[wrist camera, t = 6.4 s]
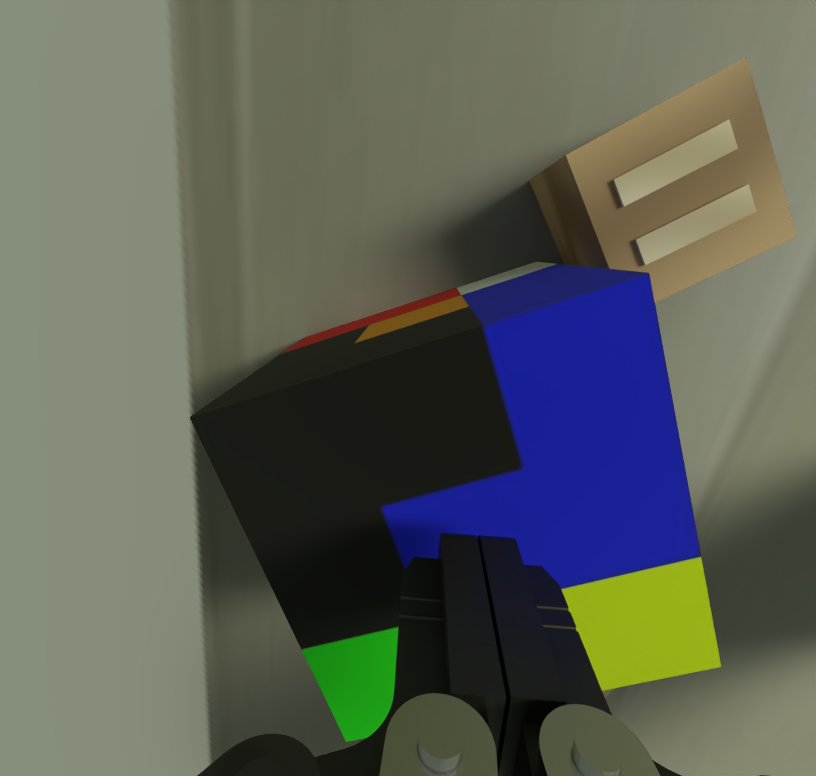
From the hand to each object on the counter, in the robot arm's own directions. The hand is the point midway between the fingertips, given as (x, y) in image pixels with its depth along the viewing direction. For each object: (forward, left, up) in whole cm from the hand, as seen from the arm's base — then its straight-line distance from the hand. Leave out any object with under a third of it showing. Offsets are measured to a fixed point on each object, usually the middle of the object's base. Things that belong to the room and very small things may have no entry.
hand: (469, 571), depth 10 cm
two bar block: (+2, -10, -11) cm, 15 cm away
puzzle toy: (0, 0, -12) cm, 12 cm away
